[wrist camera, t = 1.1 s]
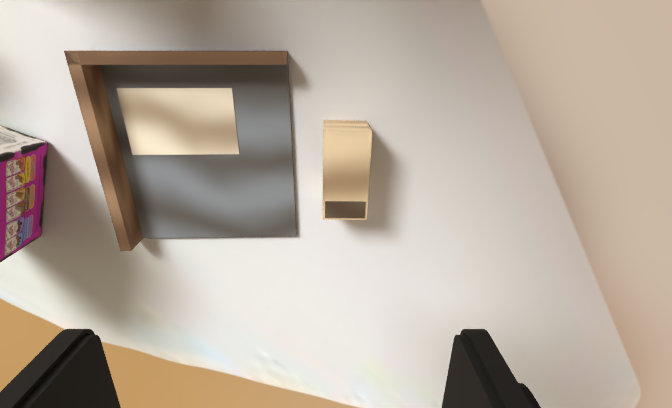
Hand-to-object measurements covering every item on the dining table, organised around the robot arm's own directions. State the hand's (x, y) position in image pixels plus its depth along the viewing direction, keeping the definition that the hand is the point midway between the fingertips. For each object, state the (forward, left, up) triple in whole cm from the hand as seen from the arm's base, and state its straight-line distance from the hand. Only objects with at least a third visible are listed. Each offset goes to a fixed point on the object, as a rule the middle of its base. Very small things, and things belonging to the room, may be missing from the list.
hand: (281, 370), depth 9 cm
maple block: (+2, +3, -27) cm, 27 cm away
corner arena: (+1, -11, -27) cm, 29 cm away
